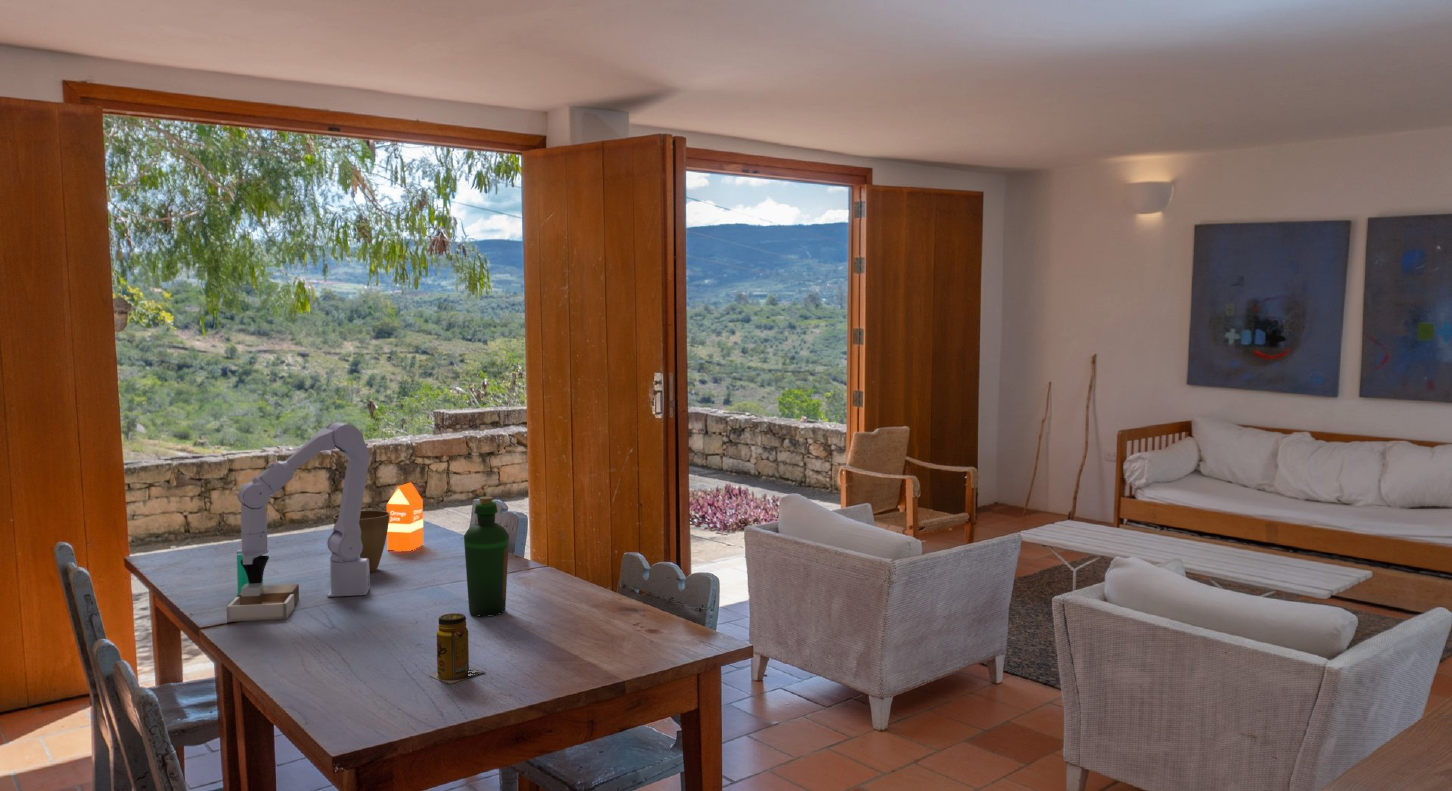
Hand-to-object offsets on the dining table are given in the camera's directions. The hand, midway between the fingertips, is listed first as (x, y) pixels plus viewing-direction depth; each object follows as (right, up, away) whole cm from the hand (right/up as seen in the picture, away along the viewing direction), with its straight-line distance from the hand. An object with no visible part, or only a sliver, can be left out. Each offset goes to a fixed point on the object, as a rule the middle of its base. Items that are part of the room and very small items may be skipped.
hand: (255, 586), depth 245 cm
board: (+3, -5, +2) cm, 6 cm away
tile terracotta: (+8, -2, -7) cm, 11 cm away
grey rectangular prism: (+1, -1, -3) cm, 3 cm away
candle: (-7, -4, +13) cm, 16 cm away
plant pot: (+13, -3, +37) cm, 39 cm away
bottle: (+58, -6, -3) cm, 58 cm away
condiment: (+62, -9, -46) cm, 78 cm away
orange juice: (+16, -1, +65) cm, 67 cm away
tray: (+5, -5, -7) cm, 10 cm away
